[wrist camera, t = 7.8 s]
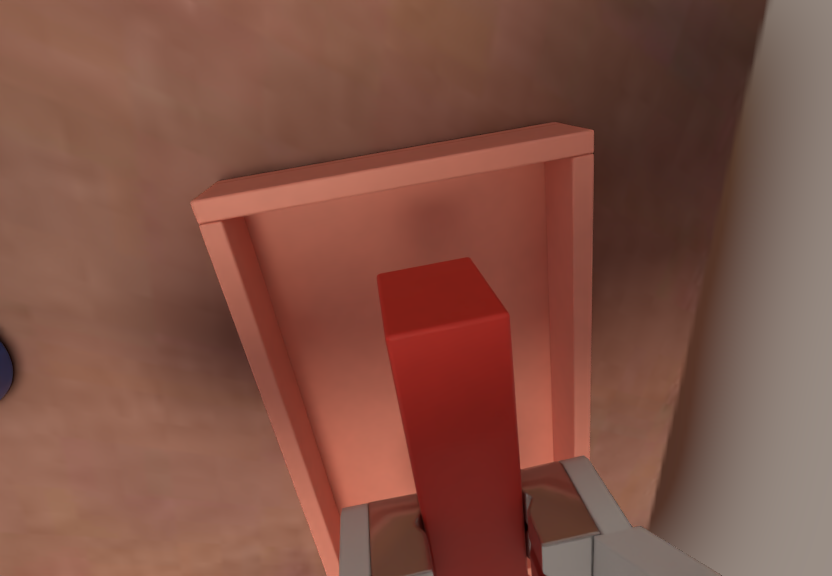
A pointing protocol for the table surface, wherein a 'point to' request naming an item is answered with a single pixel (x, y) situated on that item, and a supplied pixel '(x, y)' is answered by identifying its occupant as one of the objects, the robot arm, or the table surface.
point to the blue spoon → (5, 371)
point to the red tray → (360, 306)
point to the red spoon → (458, 414)
